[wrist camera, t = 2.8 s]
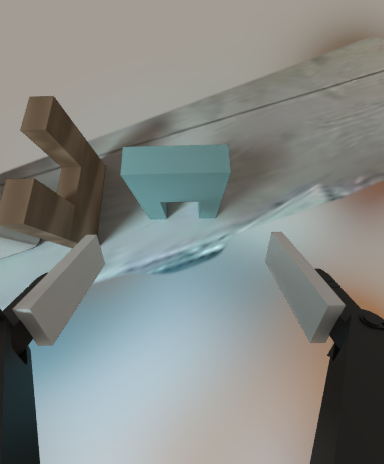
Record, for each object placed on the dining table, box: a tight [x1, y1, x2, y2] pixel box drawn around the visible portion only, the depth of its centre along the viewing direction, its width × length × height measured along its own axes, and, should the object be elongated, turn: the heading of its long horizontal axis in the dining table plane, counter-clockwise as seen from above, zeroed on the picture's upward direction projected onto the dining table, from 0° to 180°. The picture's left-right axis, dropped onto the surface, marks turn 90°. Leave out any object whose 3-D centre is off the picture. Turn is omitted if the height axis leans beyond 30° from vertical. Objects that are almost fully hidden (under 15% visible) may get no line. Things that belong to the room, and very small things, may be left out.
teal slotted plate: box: [120, 145, 231, 219], centre depth 23 cm, size 10×3×12 cm, turn 91°
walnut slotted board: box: [0, 96, 106, 248], centre depth 23 cm, size 2×14×12 cm, turn 1°
